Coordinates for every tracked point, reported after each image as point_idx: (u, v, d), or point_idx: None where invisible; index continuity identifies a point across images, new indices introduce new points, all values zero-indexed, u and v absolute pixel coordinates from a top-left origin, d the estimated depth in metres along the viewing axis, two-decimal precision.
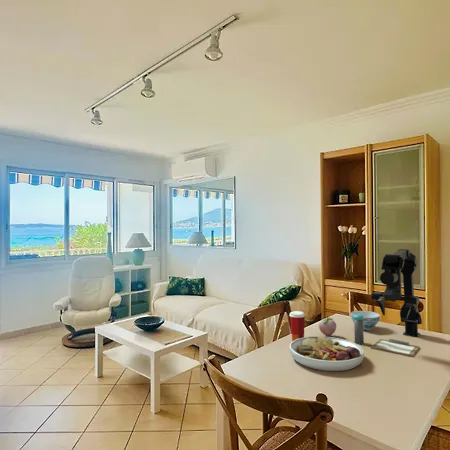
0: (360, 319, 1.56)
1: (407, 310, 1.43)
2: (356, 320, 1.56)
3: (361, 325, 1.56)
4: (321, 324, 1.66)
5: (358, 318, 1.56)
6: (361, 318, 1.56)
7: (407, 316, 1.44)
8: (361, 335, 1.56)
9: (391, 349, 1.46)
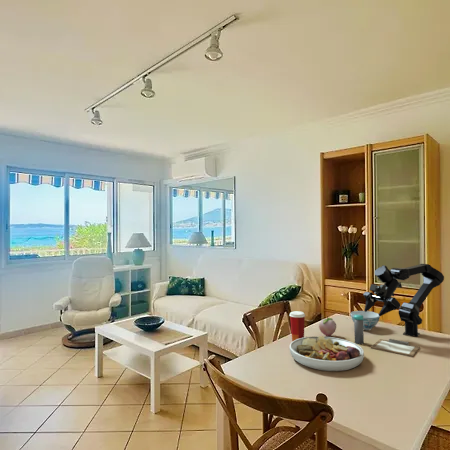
0: (360, 319, 1.56)
1: (383, 307, 1.56)
2: (356, 320, 1.56)
3: (361, 325, 1.56)
4: (321, 324, 1.66)
5: (358, 318, 1.56)
6: (361, 318, 1.56)
7: (381, 313, 1.56)
8: (361, 335, 1.56)
9: (391, 349, 1.46)
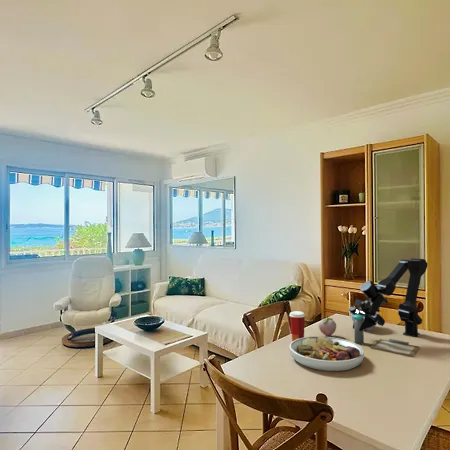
0: (360, 319, 1.56)
1: (364, 322, 1.55)
2: (356, 320, 1.56)
3: None
4: (321, 324, 1.66)
5: (358, 318, 1.56)
6: (361, 318, 1.56)
7: (361, 329, 1.55)
8: (361, 335, 1.56)
9: (391, 349, 1.46)
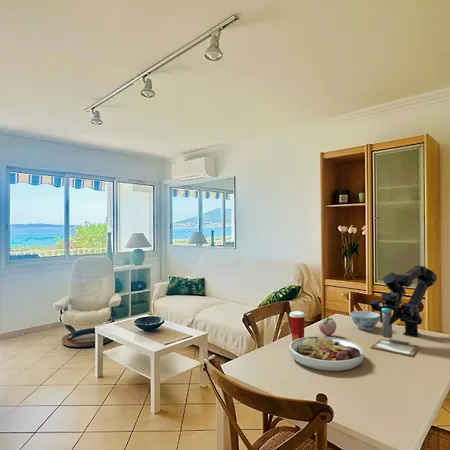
0: (390, 312, 1.53)
1: (393, 315, 1.53)
2: (386, 313, 1.53)
3: (390, 318, 1.53)
4: (321, 324, 1.66)
5: (388, 311, 1.53)
6: (390, 311, 1.53)
7: (392, 322, 1.52)
8: (391, 328, 1.53)
9: (391, 349, 1.46)
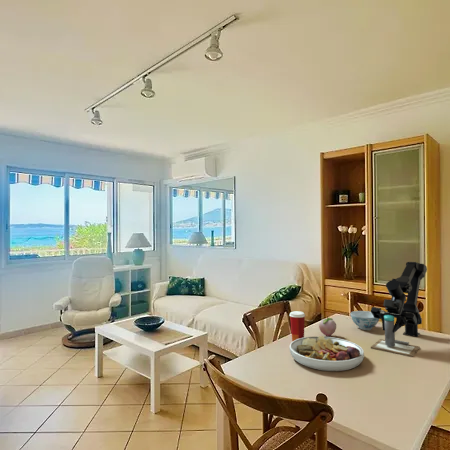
0: (393, 320, 1.47)
1: (396, 323, 1.48)
2: (389, 322, 1.48)
3: (393, 326, 1.48)
4: (321, 324, 1.66)
5: (391, 319, 1.47)
6: (393, 319, 1.48)
7: (395, 330, 1.47)
8: (394, 336, 1.48)
9: (391, 349, 1.46)
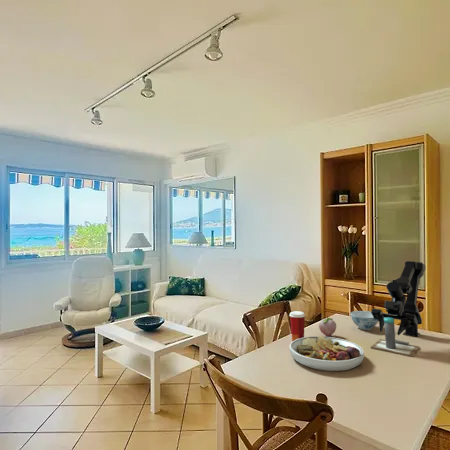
0: (393, 322, 1.47)
1: (401, 325, 1.45)
2: (389, 324, 1.47)
3: (394, 328, 1.47)
4: (321, 324, 1.66)
5: (391, 321, 1.47)
6: (393, 321, 1.47)
7: (399, 332, 1.45)
8: (394, 339, 1.47)
9: (391, 349, 1.46)
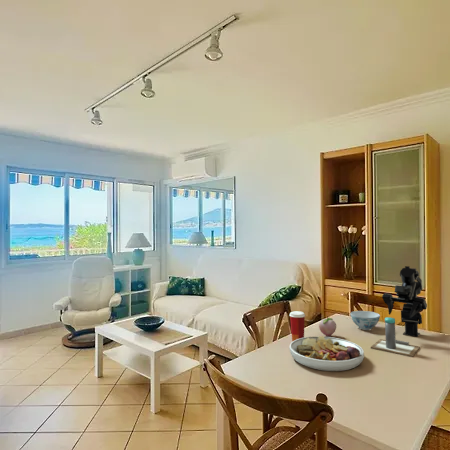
0: (393, 322, 1.47)
1: (413, 309, 1.52)
2: (390, 323, 1.47)
3: (394, 328, 1.47)
4: (321, 324, 1.66)
5: (392, 321, 1.47)
6: (394, 321, 1.47)
7: (411, 315, 1.52)
8: (394, 339, 1.47)
9: (391, 349, 1.46)
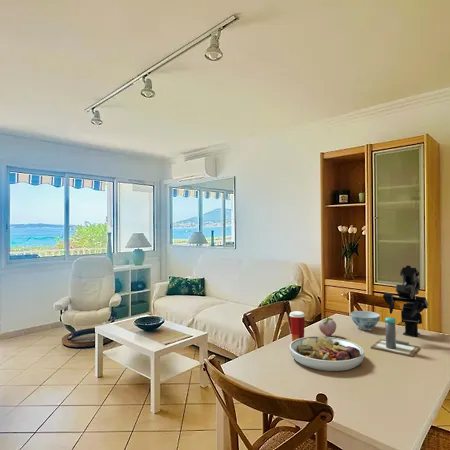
0: (394, 322, 1.47)
1: (414, 308, 1.53)
2: (390, 324, 1.47)
3: (394, 328, 1.47)
4: (321, 324, 1.66)
5: (392, 321, 1.47)
6: None
7: (413, 314, 1.52)
8: (395, 339, 1.47)
9: (391, 349, 1.46)
